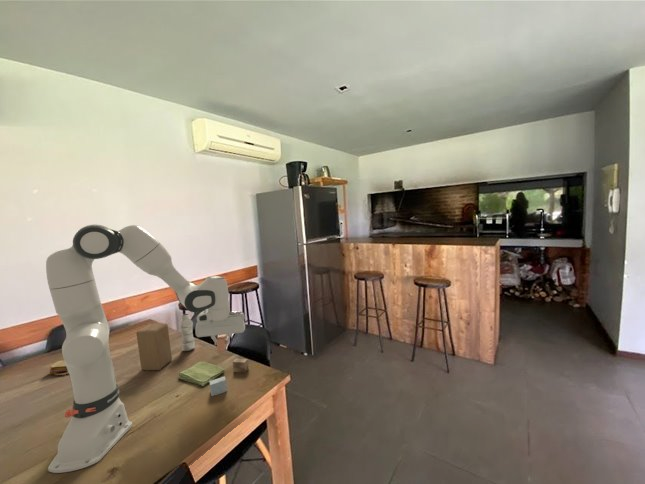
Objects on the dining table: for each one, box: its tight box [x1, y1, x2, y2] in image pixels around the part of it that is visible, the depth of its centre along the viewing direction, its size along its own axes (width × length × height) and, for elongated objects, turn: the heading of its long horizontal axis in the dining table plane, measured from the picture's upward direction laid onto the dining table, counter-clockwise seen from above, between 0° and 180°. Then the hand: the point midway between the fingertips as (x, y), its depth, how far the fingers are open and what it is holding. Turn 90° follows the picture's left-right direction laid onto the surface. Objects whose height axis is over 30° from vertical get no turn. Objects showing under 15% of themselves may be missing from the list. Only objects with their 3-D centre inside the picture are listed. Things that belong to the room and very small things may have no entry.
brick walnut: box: [232, 358, 249, 373], centre depth 128 cm, size 6×3×5 cm, turn 78°
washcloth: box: [178, 361, 225, 387], centre depth 126 cm, size 13×18×3 cm
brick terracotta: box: [216, 334, 229, 352], centre depth 120 cm, size 6×3×5 cm, turn 8°
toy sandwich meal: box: [49, 360, 69, 376], centre depth 139 cm, size 12×14×5 cm
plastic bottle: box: [179, 313, 196, 352], centre depth 151 cm, size 6×7×20 cm
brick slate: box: [208, 376, 228, 397], centre depth 113 cm, size 6×3×5 cm, turn 119°
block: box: [136, 322, 173, 371], centre depth 137 cm, size 10×10×20 cm
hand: (222, 343), depth 120 cm, fingers closed on brick terracotta, 3 cm apart
